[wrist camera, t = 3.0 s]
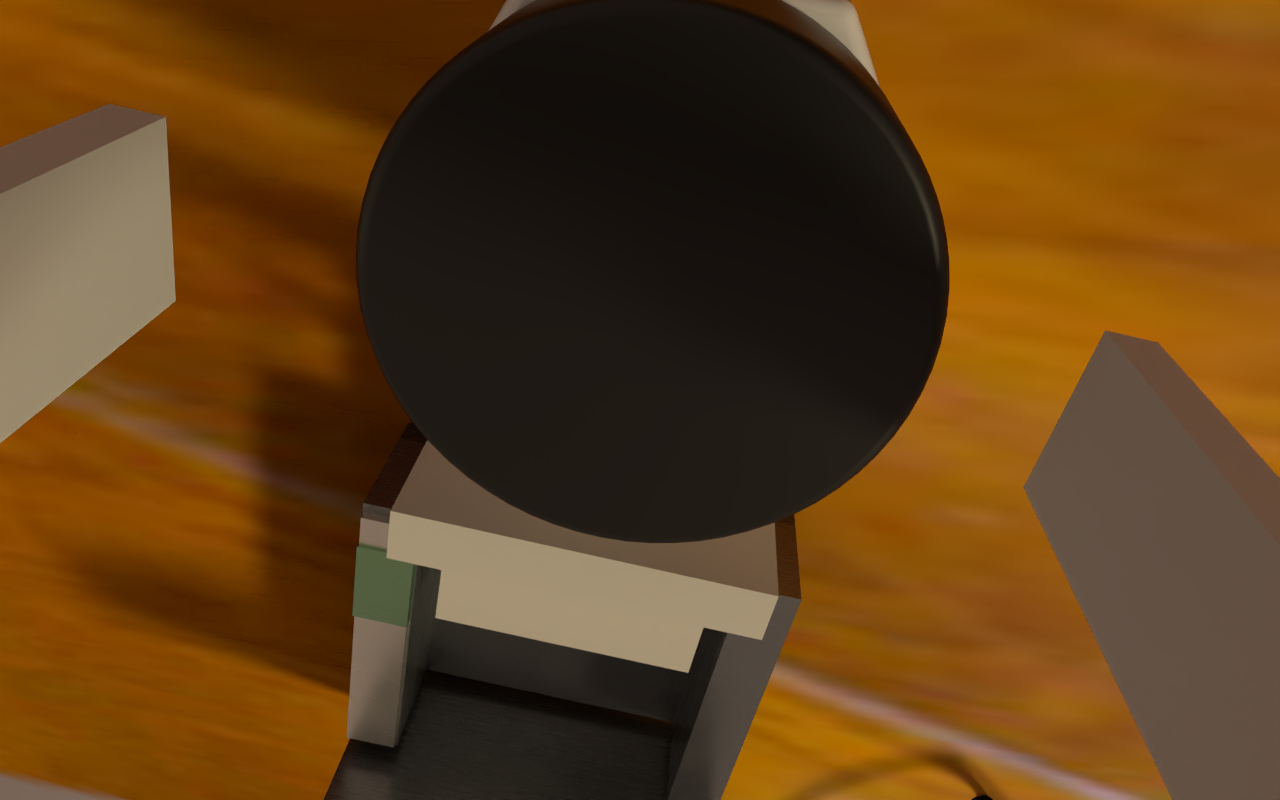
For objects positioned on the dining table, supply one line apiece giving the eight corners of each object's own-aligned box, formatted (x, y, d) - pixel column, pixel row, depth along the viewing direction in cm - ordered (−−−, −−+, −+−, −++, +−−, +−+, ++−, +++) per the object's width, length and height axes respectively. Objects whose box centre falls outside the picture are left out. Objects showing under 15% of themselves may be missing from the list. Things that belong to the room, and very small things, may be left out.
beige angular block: (490, 319, 25) (390, 511, 18) (766, 381, 25) (778, 596, 18) (458, 549, 29) (367, 779, 22) (695, 601, 29) (682, 846, 22)
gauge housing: (408, 423, 28) (265, 674, 20) (793, 509, 29) (818, 793, 20) (382, 707, 35) (267, 988, 26) (694, 774, 35) (680, 1073, 27)
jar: (453, -3, 22) (207, 126, 12) (781, -168, 20) (826, -182, 10) (611, 315, 26) (528, 621, 16) (900, 209, 24) (1024, 485, 13)
